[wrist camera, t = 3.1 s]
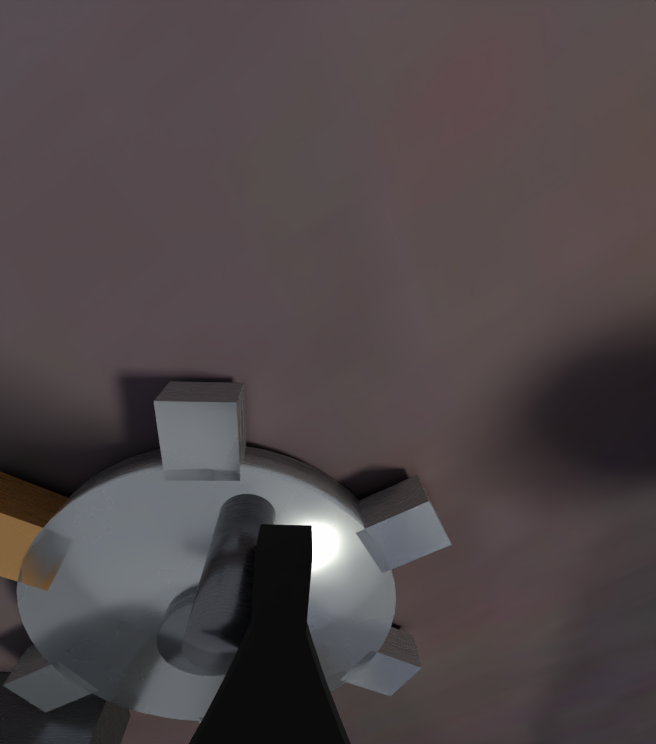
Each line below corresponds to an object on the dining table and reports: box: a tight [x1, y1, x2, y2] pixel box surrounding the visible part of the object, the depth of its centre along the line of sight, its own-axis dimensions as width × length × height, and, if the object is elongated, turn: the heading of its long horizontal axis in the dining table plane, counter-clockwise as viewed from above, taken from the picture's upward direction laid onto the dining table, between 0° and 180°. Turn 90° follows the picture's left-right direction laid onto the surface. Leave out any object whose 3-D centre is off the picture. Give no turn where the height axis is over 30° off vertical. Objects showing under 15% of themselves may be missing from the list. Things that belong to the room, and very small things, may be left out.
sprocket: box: [0, 381, 451, 723], centre depth 11 cm, size 16×16×5 cm
